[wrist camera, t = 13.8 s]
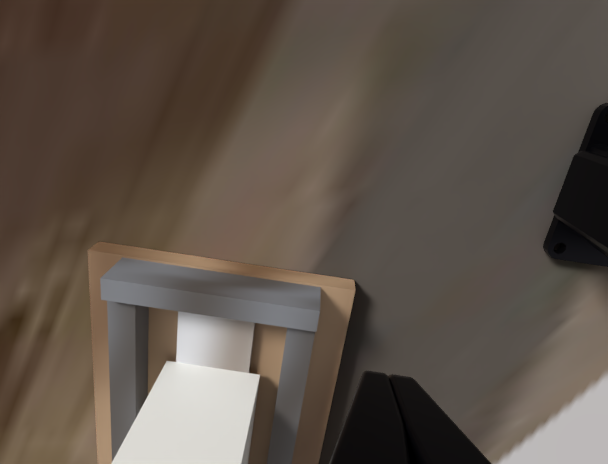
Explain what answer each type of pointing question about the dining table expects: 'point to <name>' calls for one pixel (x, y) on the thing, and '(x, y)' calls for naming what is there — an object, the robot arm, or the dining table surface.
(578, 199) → the robot arm
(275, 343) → the rail mount
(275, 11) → the dining table surface
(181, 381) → the block
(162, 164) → the dining table surface
